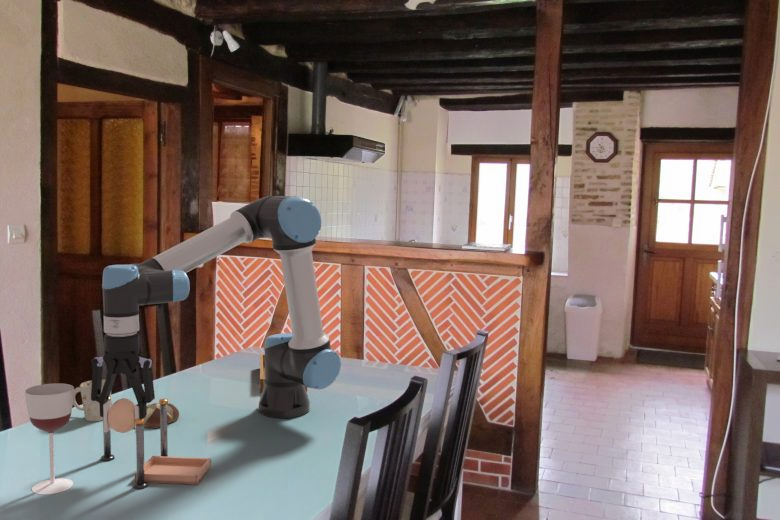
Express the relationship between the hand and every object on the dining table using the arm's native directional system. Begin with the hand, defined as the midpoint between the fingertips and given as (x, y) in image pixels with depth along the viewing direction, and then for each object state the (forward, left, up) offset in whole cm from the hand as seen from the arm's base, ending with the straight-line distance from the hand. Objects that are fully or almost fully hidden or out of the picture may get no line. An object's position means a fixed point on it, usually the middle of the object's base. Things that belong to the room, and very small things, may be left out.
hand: (123, 430), depth 161 cm
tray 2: (-21, -80, -11) cm, 83 cm away
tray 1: (-12, 0, -10) cm, 15 cm away
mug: (+25, -35, -10) cm, 44 cm away
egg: (0, 0, -1) cm, 1 cm away
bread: (+6, -34, -10) cm, 36 cm away
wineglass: (+12, +9, -10) cm, 18 cm away
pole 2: (-7, +7, -10) cm, 14 cm away
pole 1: (+7, -7, -10) cm, 14 cm away
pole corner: (-7, -7, -10) cm, 14 cm away
